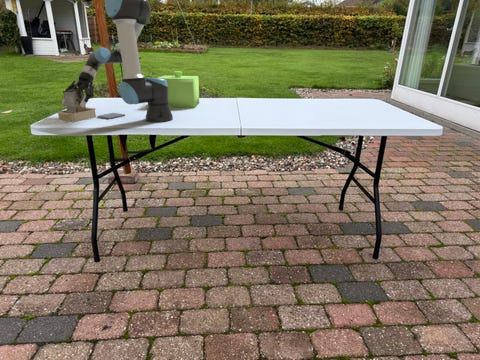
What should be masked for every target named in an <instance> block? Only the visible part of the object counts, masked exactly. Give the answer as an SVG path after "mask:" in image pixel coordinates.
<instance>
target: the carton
mask: <svg viewBox="0 0 480 360" xmlns="http://www.w3.org/2000/svg"><path fill="white" fill-rule="evenodd" d="M96 110H97V108H96V107H88V106H86V111H83V112H78V113H67V109H66V110H58V111H57V112H55V114H58V120H61V121H65V122H71V123H75V122H79V121H84V119H85V120H88V119H89V118H90V119H94V118H96V117H97V115H96ZM90 119H89V120H90Z"/></svg>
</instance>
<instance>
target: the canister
mask: <svg viewBox="0 0 480 360" xmlns="http://www.w3.org/2000/svg"><path fill="white" fill-rule="evenodd" d="M158 78H159V79H165V80H166V81H167V85H168V101H169V108H170V109H195V108H197V106H198V105H199V104H200V88H199V87H200V86H199V85H200V83H199V82H200V80H199V75H183V71H181V70H180V71H175V70H174V71H173V75H162V76H158Z"/></svg>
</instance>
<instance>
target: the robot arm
mask: <svg viewBox="0 0 480 360" xmlns="http://www.w3.org/2000/svg"><path fill="white" fill-rule="evenodd" d="M104 6H105V8H104V9H105V12H106V14H107V16H108V17H110V18H111V20H112V23H113V24H114V25H116V31H117V37H118V45H117V47H116V48H115V49H108V48H106V47H103V46H102V47H99V48H97V49H96V50H95V51H92V52H91V53H90V54H89V55H88V58H87V60H86V62H85V64H84V65H83V68H82V69H81V71H80V74H79V76H78V81H76V80H73V81H72V82H71V83H70V84H69V85H68V86H67V87H66V89H65V90H64V91H66V90H71V89H83V91H84V93H85V95H84V98H83V100H82V102H81V104H80V106H81V107H82V108H84V107H85V106H86V104H87V103H88V102H89V100H90V99H91V98H92V99H93V98H94V97H95V96H94V95H95V93H94V92H95V85H96V84H95V83H94V79H95V78H96V75H97V73H98V71H99V69H100V67H102V66H103V65H104V64H122V69H123V77H122V78H121V80H122V82H119V85H118V86H119V87H118V91H119V95H120V97H121V99H122V101H123V102H124V103H126V104H127V105H138V104H145V103H147V108H146V109H147V110H146V114H145V121H147V122H150V123H151V122H154V123H155V122H156V123H161V122H162V123H163V122H169V121H172V120H173V114H172V111H171V108H169V101H168V85H167V81H166V80H165V79H159V77H145V75H143V74H142V71H141V63H140V57H139V56H140V55H139V49H138V42H137V39H138V38H139V36H140V35H141V33H142V30H143V28H144V26H146V25H148V24H149V22H150V19H151V15H152V8H151V4H150V2H149V0H105V1H104ZM61 105H62V106H63V107H65V108H66V104H65V99H64V97H63V99H62V101H61Z"/></svg>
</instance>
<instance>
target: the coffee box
mask: <svg viewBox="0 0 480 360" xmlns="http://www.w3.org/2000/svg"><path fill="white" fill-rule="evenodd" d="M65 90H66V89H65ZM65 90H63V91H62V94H63V98H64V99H65V104H66V107H65V109H66V110H67V113H78V112H83V111H86V107H87V106H86V105H85V107H84V108H82V107H81V106H80V104H81V102H82V100H83V98H84V96H85V95H84V90H83V89H71V90H66V91H65Z"/></svg>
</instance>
